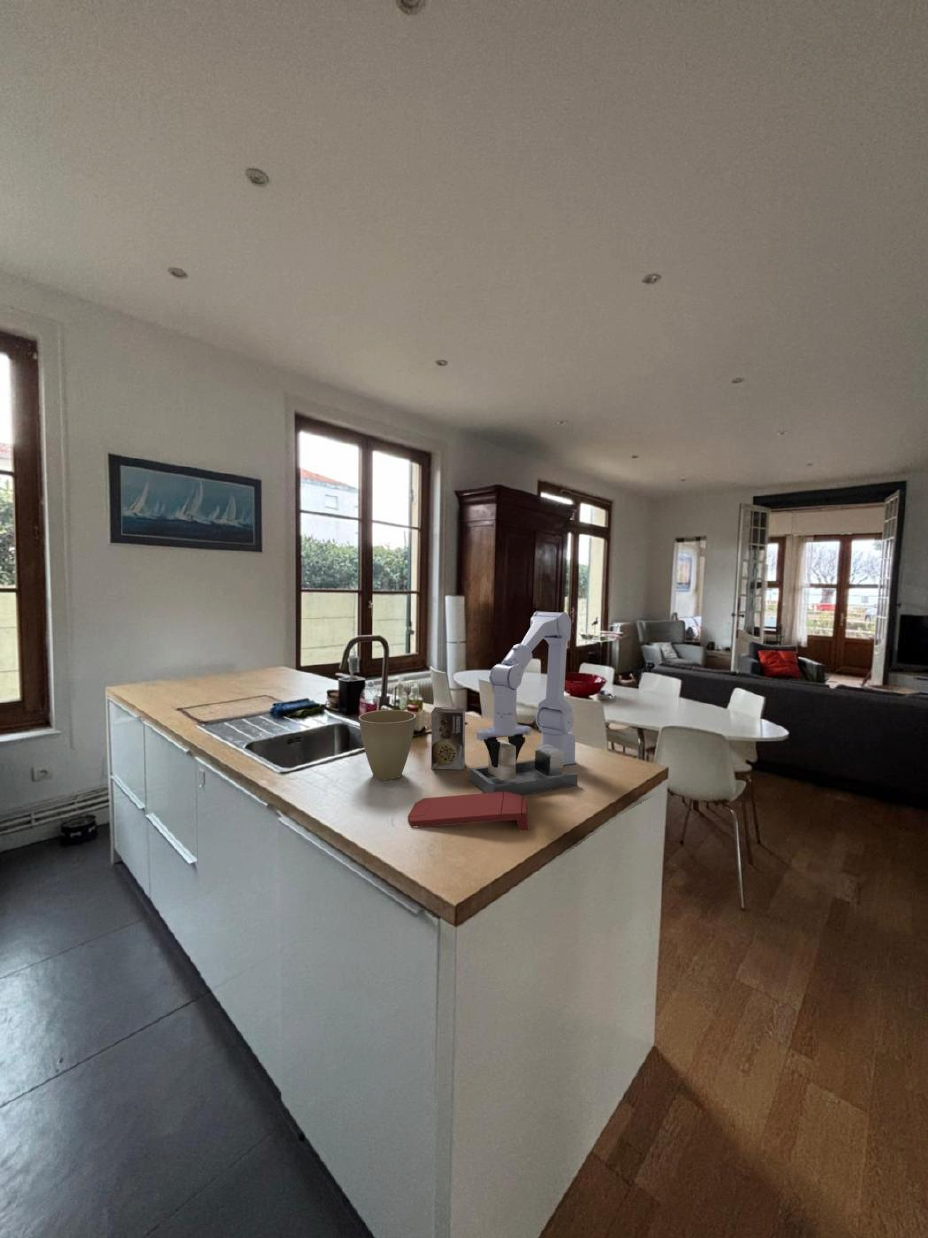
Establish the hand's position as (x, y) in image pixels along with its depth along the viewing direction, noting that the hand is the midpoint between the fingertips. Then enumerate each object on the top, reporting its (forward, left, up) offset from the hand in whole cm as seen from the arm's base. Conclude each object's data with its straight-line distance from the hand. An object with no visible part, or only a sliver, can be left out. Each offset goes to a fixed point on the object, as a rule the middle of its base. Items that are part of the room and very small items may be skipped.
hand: (503, 765), depth 127 cm
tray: (-6, 0, -5) cm, 8 cm away
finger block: (0, 0, -3) cm, 3 cm away
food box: (+7, -19, -6) cm, 21 cm away
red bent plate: (+16, +13, -6) cm, 22 cm away
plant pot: (+25, -18, -6) cm, 32 cm away
